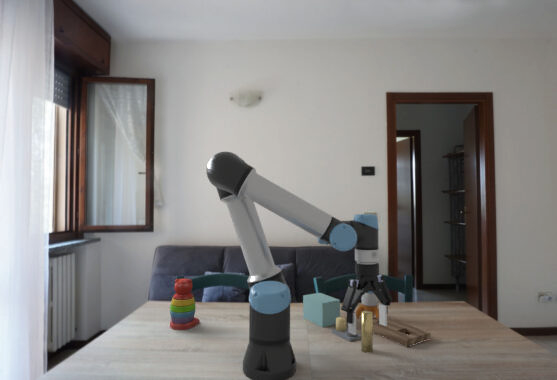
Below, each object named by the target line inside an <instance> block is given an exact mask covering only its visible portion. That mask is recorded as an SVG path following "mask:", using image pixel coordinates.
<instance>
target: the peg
mask: <svg viewBox="0 0 557 380" xmlns="http://www.w3.org/2000/svg"><path fill="white" fill-rule="evenodd" d="M373 317H374V316H373V313H372V312H370V311H362V312H361V316H360V320H361V323H360V324H361V325H360V326H361V328H360V331H361V332H360V333H361V334H360V335H361V339H360V340H361V341H360V342H361V347H360V350H361V351H362V352H363V351H364V352H363V353H366V352H371V353H373V352H372V351H374V350H373V348H374V347H373V345H374V344H373V343H374V341H373V340H374V339H373V335H374V333H373V319H374V318H373Z"/></svg>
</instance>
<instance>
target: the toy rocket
mask: <svg viewBox="0 0 557 380" xmlns="http://www.w3.org/2000/svg"><path fill="white" fill-rule="evenodd" d="M360 301H361V305H359V306H357V307H356V308H357V309H355V310H356V311H355V313H356V317H357V318H356V319H359V318H361V312H362V311H370V312H372V313H373V317H374V316H375V319H377V318H379V302H380V301H379V299H378V298H377V297H376V295H375V294H374V292H373V291H372V292H371V291H369V292H367V293H366V292H365V294H364V295H362V297H361V299H360Z"/></svg>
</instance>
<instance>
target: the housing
mask: <svg viewBox="0 0 557 380" xmlns="http://www.w3.org/2000/svg"><path fill="white" fill-rule="evenodd" d="M302 300H303V301H302V318H303V319H304V320H307V321H309V322H311V323H313V324H315V325H317V326H318V327H321V328H325V327H330V326H334V324H335V325H336V318H337V317H341V300H340V299H338V298H335V297H333V296H330V295H327V294H325V293H322V292H316V293H309V294H304V295H302Z"/></svg>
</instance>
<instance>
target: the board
mask: <svg viewBox="0 0 557 380" xmlns="http://www.w3.org/2000/svg"><path fill="white" fill-rule="evenodd" d="M373 332H374V333H373V334H375V333H377V334H379V335H381V336H380V337H382V336H384V337H386V338H388V339H387V340H389V339H391V340H393V341H395V342H394V343H396V342H398V343H400V344H402V345H401V346H403V345H405V346H410V345H413V344H416V343H418V342H421V341H424V340H427V339H432V338H431V335H432V334H431V332H429V331H426V330H424V329H421V328H419V327H416V326H413V325H410V324H408V323H405V322H403V321H399V320H396V319H394V318H391V317H388V316H387V326H384V325H381V324H379V318H373ZM377 334H376V335H377ZM407 334H408V335H407ZM379 335H378V336H379ZM384 337H383V338H384ZM386 338H385V339H386ZM391 340H390V341H391ZM393 341H392V342H393ZM398 343H397V344H398ZM400 344H399V345H400ZM405 346H404V347H405ZM413 346H414V345H413ZM410 347H411V346H410Z"/></svg>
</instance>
